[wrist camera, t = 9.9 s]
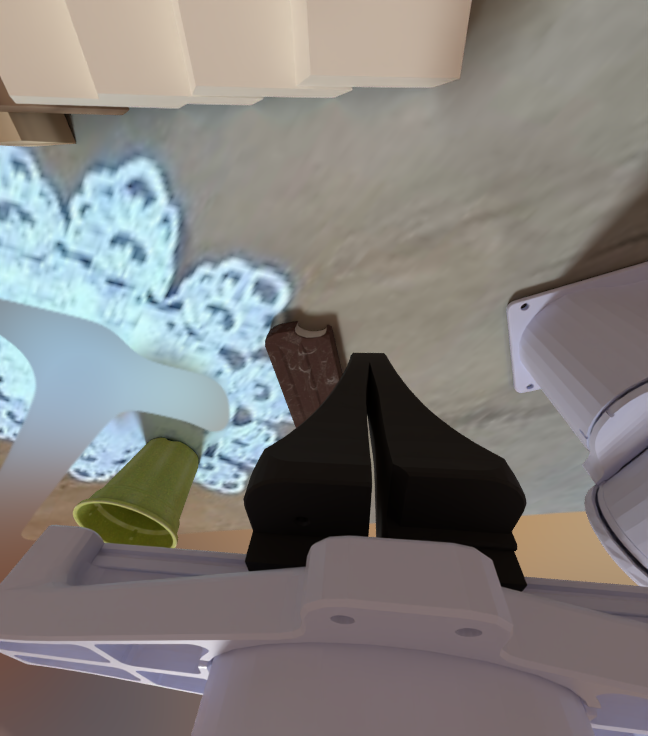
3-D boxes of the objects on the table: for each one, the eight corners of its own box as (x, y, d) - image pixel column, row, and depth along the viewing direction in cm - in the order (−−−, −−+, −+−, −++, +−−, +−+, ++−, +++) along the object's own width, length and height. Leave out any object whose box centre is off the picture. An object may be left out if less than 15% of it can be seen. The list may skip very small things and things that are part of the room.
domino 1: (153, -51, 12) (-90, -113, 9) (188, 102, 15) (9, 95, 12) (145, -29, 14) (-69, -76, 11) (179, 108, 17) (15, 103, 13)
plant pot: (231, 467, 35) (196, 546, 28) (178, 487, 38) (136, 561, 31) (169, 414, 31) (110, 490, 24) (117, 442, 34) (52, 515, 27)
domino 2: (244, -62, 12) (24, -115, 9) (263, 98, 15) (97, 93, 12) (231, -37, 13) (37, -76, 11) (251, 105, 16) (100, 102, 14)
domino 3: (353, -82, 11) (150, -129, 9) (352, 90, 14) (195, 85, 12) (330, -52, 13) (152, -86, 11) (333, 98, 16) (191, 95, 13)
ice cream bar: (359, 447, 31) (329, 314, 23) (359, 460, 30) (327, 323, 22) (310, 450, 32) (265, 324, 24) (308, 463, 31) (259, 333, 23)
